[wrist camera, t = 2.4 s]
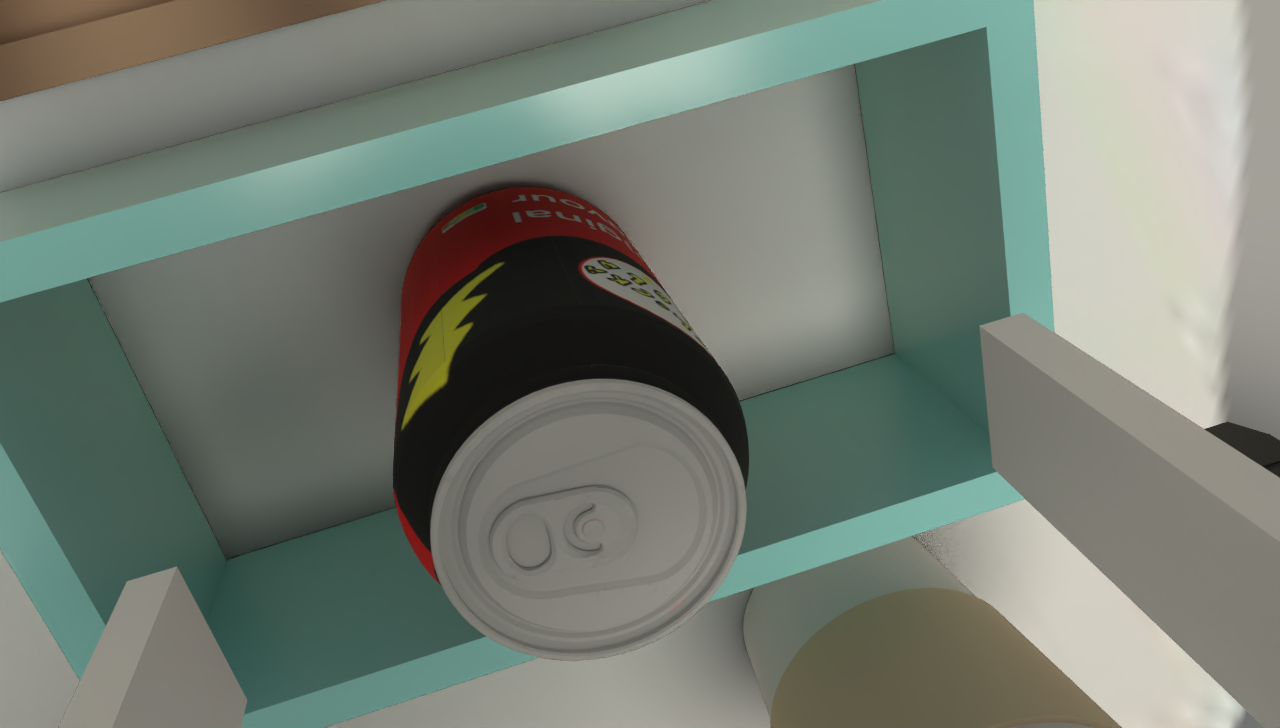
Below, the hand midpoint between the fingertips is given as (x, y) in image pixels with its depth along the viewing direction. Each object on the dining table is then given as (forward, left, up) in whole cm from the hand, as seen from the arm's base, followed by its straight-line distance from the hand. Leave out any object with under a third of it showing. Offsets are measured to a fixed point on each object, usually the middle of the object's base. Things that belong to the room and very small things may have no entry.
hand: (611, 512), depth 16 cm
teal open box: (0, 0, -12) cm, 12 cm away
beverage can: (0, 0, -12) cm, 12 cm away
